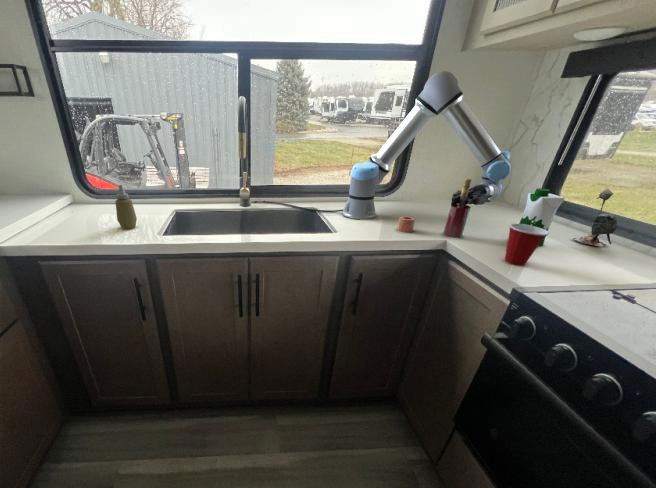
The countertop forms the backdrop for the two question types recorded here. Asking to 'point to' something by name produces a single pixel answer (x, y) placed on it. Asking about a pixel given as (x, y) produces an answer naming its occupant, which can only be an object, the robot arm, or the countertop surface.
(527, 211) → the milk carton
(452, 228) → the can
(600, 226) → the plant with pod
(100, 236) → the countertop surface
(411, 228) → the straw caddy
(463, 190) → the straw
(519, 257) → the plastic cup
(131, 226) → the squeeze bottle
